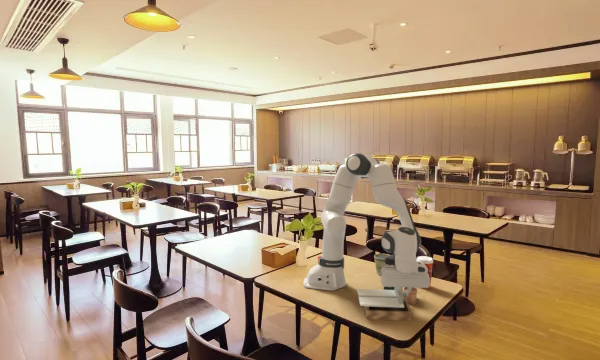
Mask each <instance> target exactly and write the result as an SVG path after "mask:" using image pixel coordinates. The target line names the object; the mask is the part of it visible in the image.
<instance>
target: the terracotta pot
mask: <svg viewBox="0 0 600 360" xmlns="http://www.w3.org/2000/svg"><path fill="white" fill-rule="evenodd" d="M407 289H408V288H407V287H403V291H404V292H406V291H407ZM417 293H418V288H411V291H410V292H409V293H408V297H405V298H406V300H407V302H408V304H409V305H415V304H417Z"/></svg>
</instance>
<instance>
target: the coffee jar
mask: <svg viewBox="0 0 600 360" xmlns="http://www.w3.org/2000/svg"><path fill="white" fill-rule="evenodd" d="M389 255H390V256H388V257H386V258H385V263H384V264H385V265H395V256H396V255H395V254H394V253H393V254H389ZM383 290H394V287H384V286H383ZM401 290H402V291H404V288H403V289H401Z"/></svg>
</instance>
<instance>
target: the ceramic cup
mask: <svg viewBox="0 0 600 360" xmlns="http://www.w3.org/2000/svg"><path fill="white" fill-rule="evenodd" d="M390 255H391V254H388V253H377V254H374V255H373V257H374V258H373V259H374V264H375V270H376V274H377V275H379V276H382V274H381V268H382V266H384V265H385V264H384V263H385V258H386V257H388V256H390Z"/></svg>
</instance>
